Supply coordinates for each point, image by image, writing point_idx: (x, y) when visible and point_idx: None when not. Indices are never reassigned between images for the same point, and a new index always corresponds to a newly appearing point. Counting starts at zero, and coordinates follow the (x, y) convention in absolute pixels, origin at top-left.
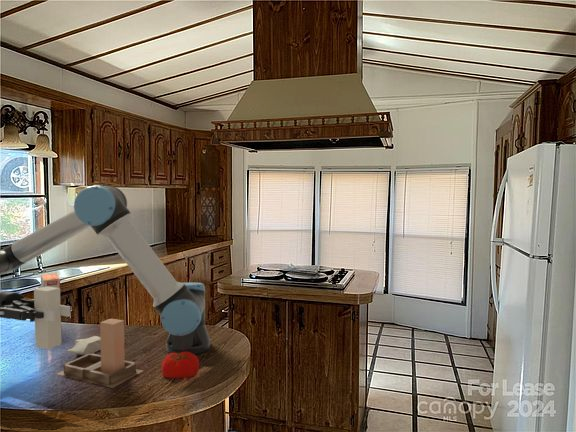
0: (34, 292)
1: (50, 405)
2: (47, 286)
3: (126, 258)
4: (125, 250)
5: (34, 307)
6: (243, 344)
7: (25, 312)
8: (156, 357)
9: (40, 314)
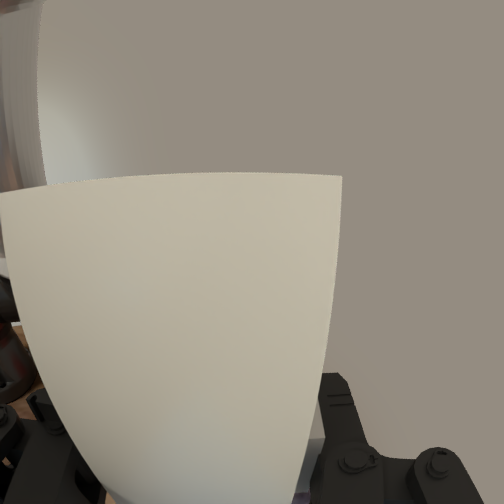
0: (333, 261)
1: (307, 499)
2: (10, 192)
3: (20, 111)
4: (30, 80)
5: (292, 496)
6: (18, 327)
7: (424, 457)
8: (29, 415)
9: (336, 378)
